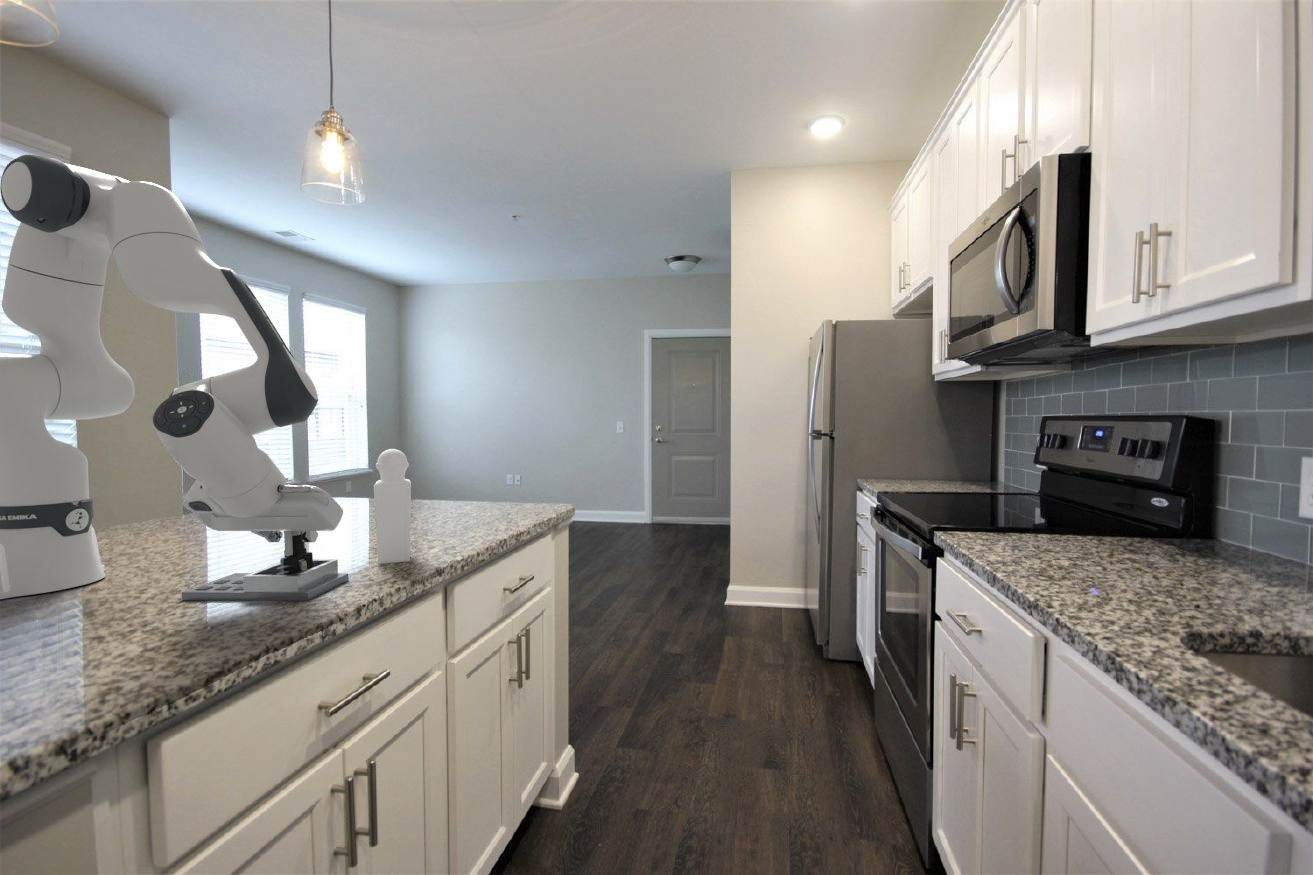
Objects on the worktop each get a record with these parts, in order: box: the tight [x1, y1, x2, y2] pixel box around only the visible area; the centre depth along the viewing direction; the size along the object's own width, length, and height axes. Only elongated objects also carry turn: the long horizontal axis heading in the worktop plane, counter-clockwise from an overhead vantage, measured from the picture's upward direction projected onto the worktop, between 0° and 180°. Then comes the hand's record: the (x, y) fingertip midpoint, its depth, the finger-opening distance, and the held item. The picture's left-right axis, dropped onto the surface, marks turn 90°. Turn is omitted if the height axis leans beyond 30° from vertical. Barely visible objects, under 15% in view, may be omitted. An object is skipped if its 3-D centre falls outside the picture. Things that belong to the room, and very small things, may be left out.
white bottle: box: [373, 448, 412, 565], centre depth 114 cm, size 6×6×22 cm
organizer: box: [181, 558, 349, 601], centre depth 95 cm, size 20×11×4 cm, turn 88°
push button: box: [276, 531, 314, 575], centre depth 94 cm, size 7×5×10 cm
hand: (294, 538), depth 95 cm, fingers closed on push button, 5 cm apart
